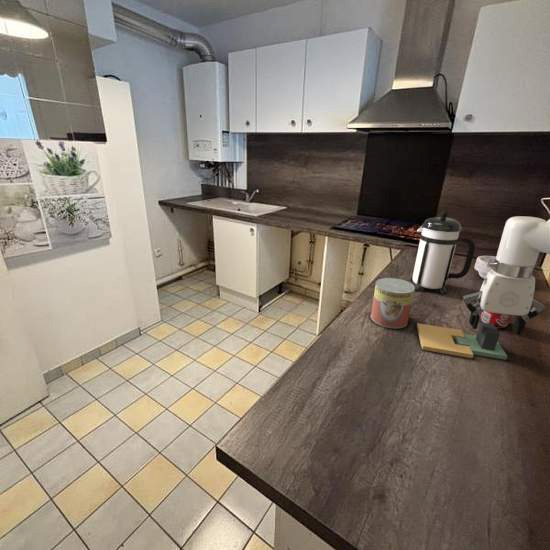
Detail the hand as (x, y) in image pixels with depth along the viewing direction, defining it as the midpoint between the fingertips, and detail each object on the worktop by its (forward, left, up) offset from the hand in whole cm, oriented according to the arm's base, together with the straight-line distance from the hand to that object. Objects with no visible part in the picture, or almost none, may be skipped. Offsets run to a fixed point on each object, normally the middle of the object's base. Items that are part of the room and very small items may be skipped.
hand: (494, 329), depth 77 cm
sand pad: (+11, 0, -6) cm, 13 cm away
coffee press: (+8, -39, -7) cm, 41 cm away
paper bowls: (-19, -57, -7) cm, 61 cm away
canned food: (+25, -8, -7) cm, 27 cm away
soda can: (-6, -15, -7) cm, 18 cm away
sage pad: (+2, 0, -6) cm, 7 cm away
